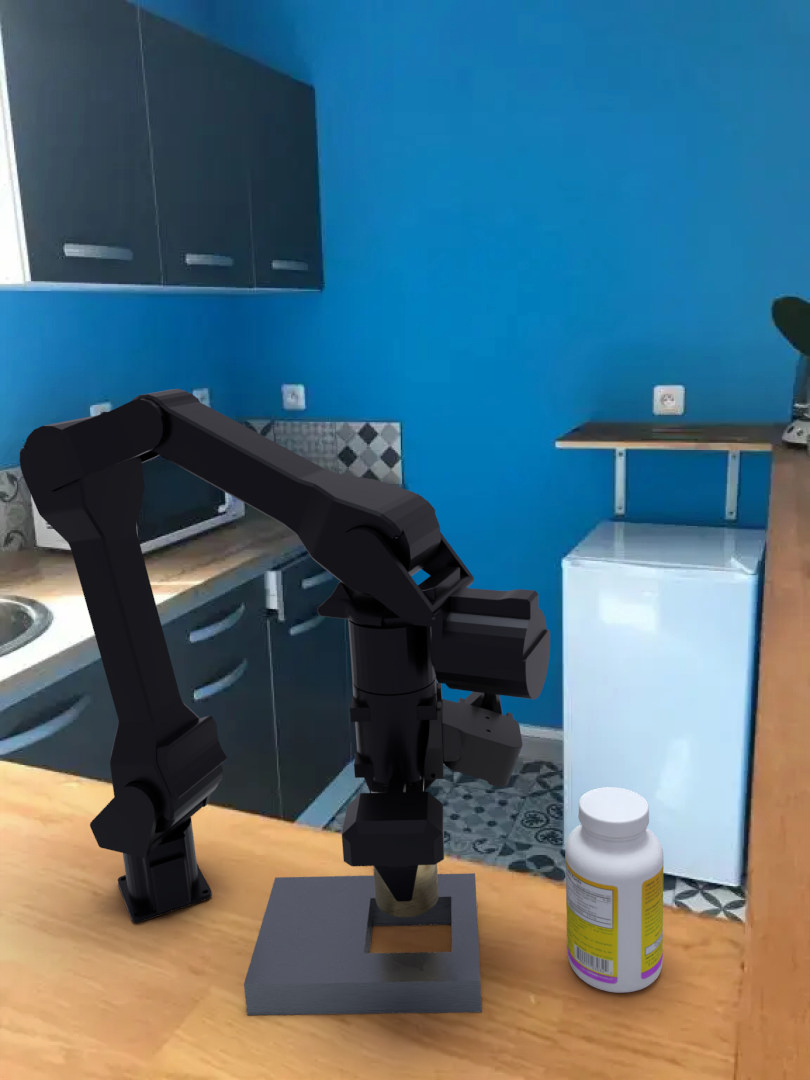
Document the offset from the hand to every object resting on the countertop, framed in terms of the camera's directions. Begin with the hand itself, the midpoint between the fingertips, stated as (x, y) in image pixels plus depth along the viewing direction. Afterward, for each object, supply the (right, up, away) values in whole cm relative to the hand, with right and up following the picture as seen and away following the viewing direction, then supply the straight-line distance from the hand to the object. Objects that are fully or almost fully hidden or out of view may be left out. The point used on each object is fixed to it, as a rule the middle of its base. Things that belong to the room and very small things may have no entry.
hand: (405, 878), depth 68 cm
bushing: (0, -1, 0) cm, 2 cm away
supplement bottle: (+15, -6, -1) cm, 16 cm away
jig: (-3, -6, +2) cm, 7 cm away
